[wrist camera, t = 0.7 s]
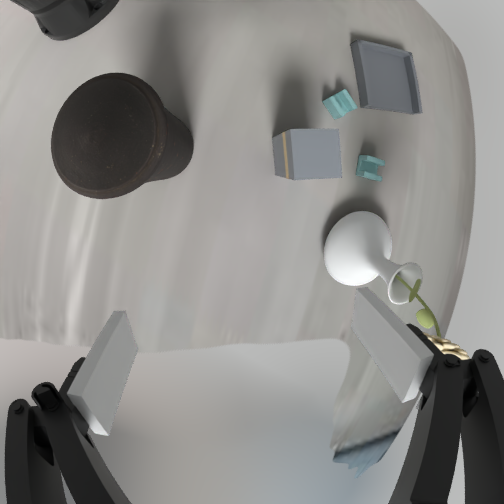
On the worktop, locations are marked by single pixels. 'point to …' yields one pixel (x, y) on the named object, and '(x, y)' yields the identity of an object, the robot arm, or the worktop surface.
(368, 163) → the clip
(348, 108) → the clip
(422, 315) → the flower in vase
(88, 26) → the robot arm
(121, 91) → the container
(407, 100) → the grey square tray
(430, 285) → the worktop surface
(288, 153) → the grey box with stripe
